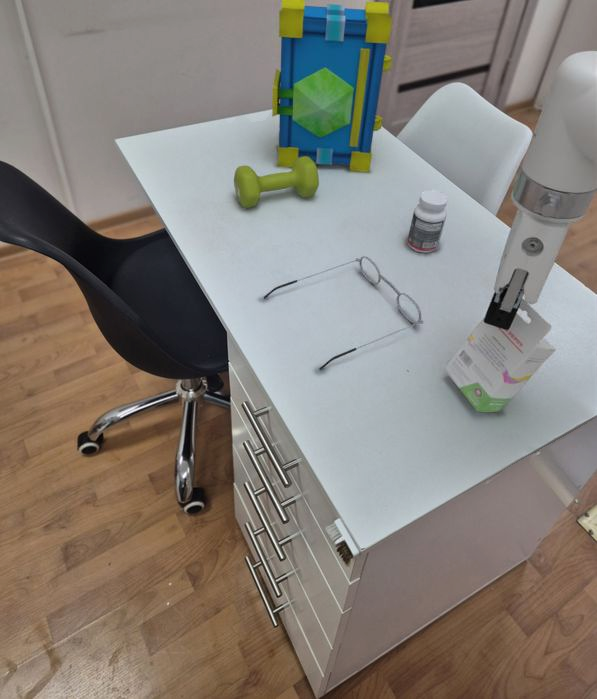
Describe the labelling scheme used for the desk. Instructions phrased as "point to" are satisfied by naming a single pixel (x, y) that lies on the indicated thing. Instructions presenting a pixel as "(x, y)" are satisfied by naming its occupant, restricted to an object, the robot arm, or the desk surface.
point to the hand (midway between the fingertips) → (496, 322)
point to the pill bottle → (428, 222)
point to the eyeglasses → (373, 283)
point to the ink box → (500, 360)
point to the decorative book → (330, 82)
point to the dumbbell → (276, 181)
